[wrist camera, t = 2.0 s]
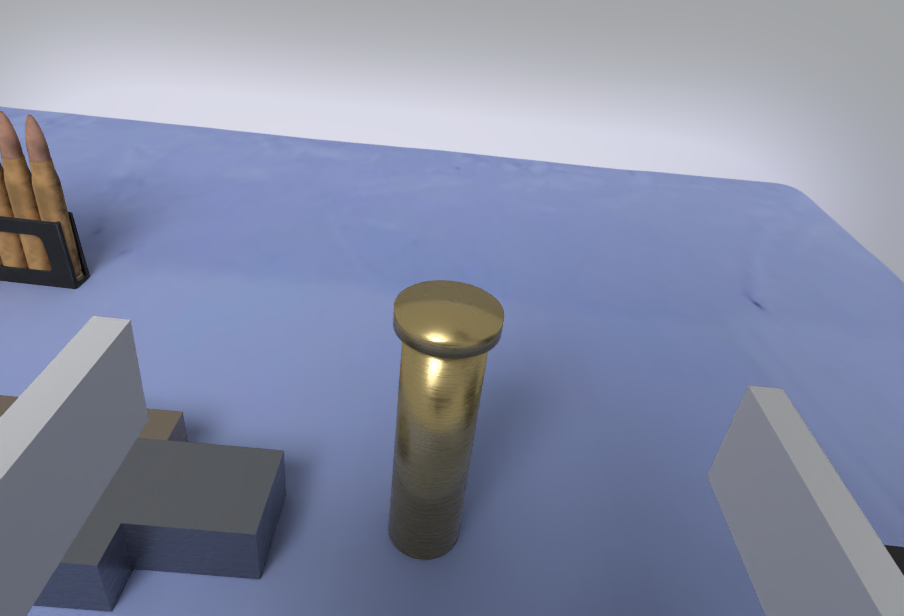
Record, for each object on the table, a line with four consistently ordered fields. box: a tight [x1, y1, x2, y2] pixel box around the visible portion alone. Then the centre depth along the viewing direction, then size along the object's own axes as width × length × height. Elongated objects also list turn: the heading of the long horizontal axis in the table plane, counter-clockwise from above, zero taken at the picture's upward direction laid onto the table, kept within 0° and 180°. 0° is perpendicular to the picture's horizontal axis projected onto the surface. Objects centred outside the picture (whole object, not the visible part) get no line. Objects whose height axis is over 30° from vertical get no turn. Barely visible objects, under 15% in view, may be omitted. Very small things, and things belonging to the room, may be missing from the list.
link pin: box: [389, 280, 504, 559], centre depth 28 cm, size 4×4×13 cm
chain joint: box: [0, 395, 286, 611], centre depth 29 cm, size 20×9×3 cm, turn 88°
